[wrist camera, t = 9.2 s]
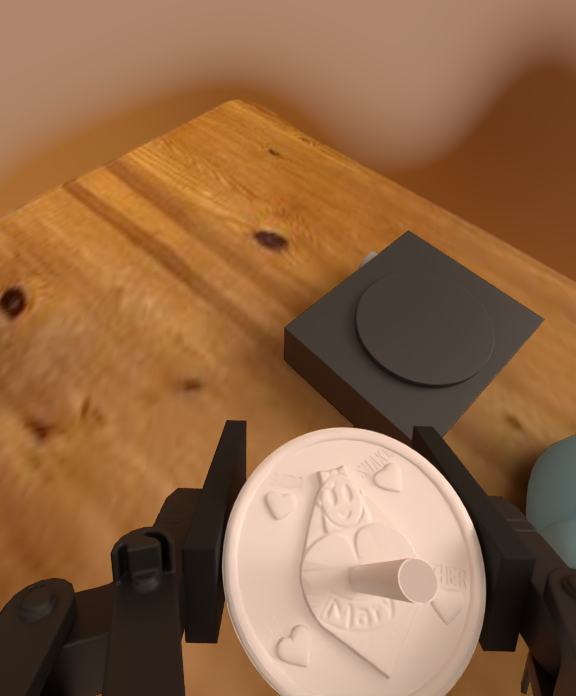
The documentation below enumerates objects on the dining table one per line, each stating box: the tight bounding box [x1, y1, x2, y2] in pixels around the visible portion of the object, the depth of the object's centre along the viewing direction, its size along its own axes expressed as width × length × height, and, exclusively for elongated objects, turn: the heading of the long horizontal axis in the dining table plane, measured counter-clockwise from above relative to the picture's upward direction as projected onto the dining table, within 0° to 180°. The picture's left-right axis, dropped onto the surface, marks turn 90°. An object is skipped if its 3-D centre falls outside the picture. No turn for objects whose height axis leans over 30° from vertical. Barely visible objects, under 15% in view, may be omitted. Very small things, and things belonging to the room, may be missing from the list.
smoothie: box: [222, 427, 486, 696], centre depth 12 cm, size 6×6×14 cm
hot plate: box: [284, 230, 545, 448], centre depth 32 cm, size 14×15×6 cm
